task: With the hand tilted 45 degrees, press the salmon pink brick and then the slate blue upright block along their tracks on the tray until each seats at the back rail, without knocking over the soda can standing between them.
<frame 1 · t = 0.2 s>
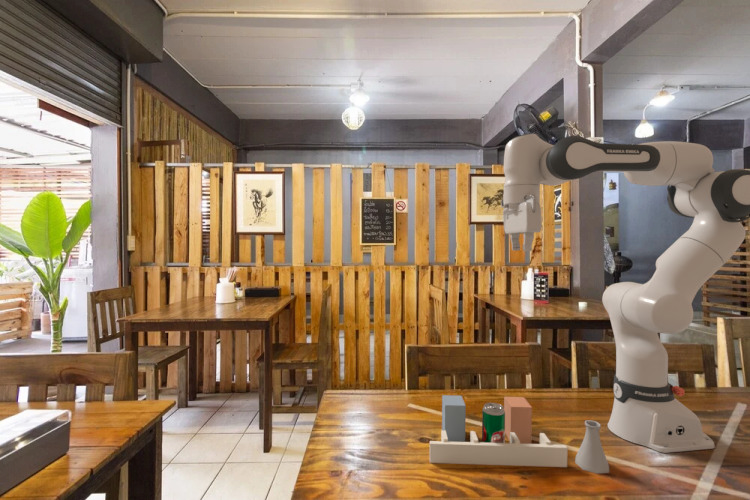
hand: (521, 251, 101), 48 cm above the table, tool pointing down, fingers open, 8 cm apart
slate blue upright block: (453, 416, 99), point 5 cm above the table, slide at 0.0 cm
flask: (591, 468, 86), on the table
tray: (489, 448, 94), on the table
salmon pink brick: (516, 418, 98), point 5 cm above the table, slide at 0.0 cm
soda can: (493, 457, 90), resting in tray
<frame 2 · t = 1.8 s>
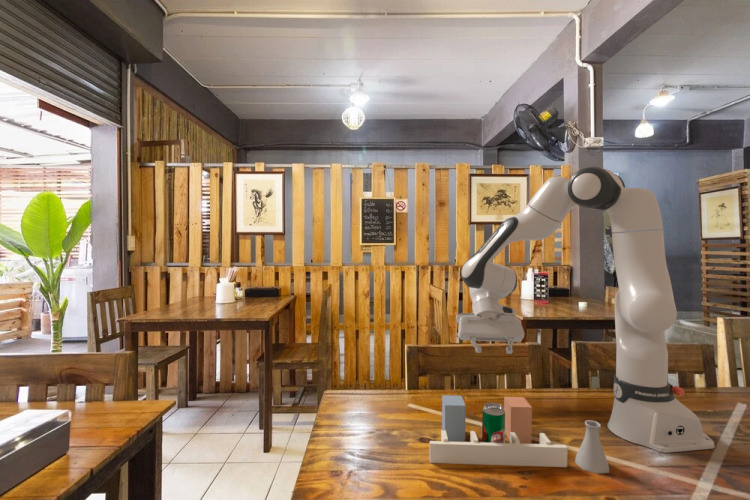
hand: (494, 352, 118), 16 cm above the table, tool tilted 45°, fingers open, 8 cm apart
nothing on the table moved.
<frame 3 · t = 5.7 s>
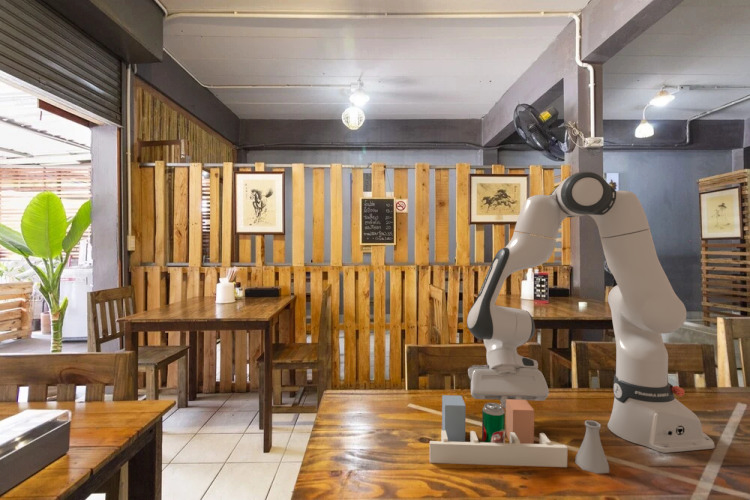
hand: (513, 415, 101), 5 cm above the table, tool tilted 45°, fingers closed, pressing on salmon pink brick
salmon pink brick: (518, 421, 97), point 5 cm above the table, slide at 1.6 cm, touching gripper
everything else where it was.
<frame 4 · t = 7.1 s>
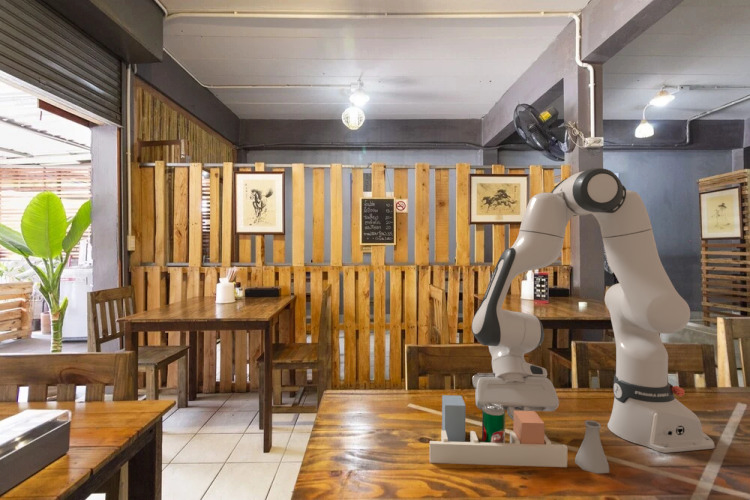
hand: (521, 427, 94), 5 cm above the table, tool tilted 45°, fingers closed, pressing on salmon pink brick
salmon pink brick: (527, 434, 90), point 5 cm above the table, slide at 8.1 cm, touching gripper
everything else where it was.
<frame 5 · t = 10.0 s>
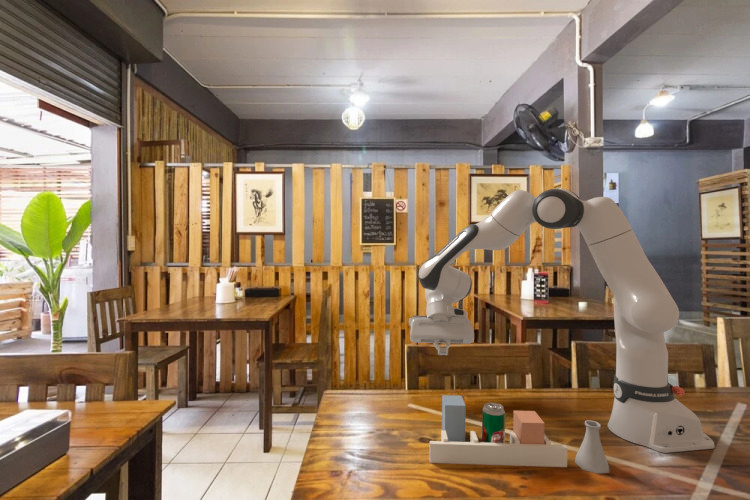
hand: (443, 354, 119), 15 cm above the table, tool tilted 45°, fingers closed
salmon pink brick: (527, 434, 90), point 5 cm above the table, slide at 8.0 cm
everything else where it was.
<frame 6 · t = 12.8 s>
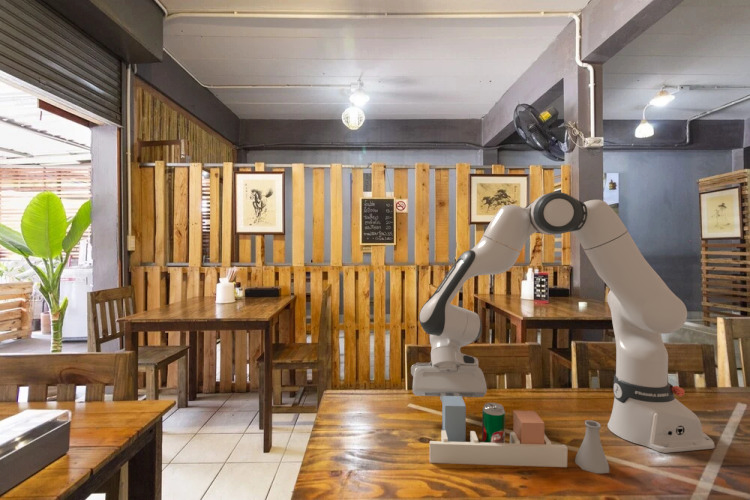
hand: (451, 411, 103), 5 cm above the table, tool tilted 45°, fingers closed, pressing on slate blue upright block
slate blue upright block: (453, 417, 99), point 5 cm above the table, slide at 0.3 cm, touching gripper
everything else where it was.
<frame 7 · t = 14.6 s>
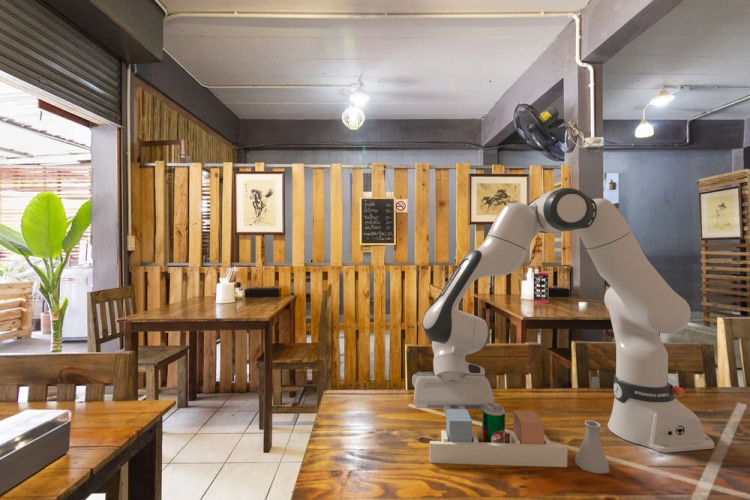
hand: (455, 425, 95), 5 cm above the table, tool tilted 45°, fingers closed, pressing on slate blue upright block
slate blue upright block: (458, 432, 91), point 5 cm above the table, slide at 8.1 cm, touching gripper
everything else where it was.
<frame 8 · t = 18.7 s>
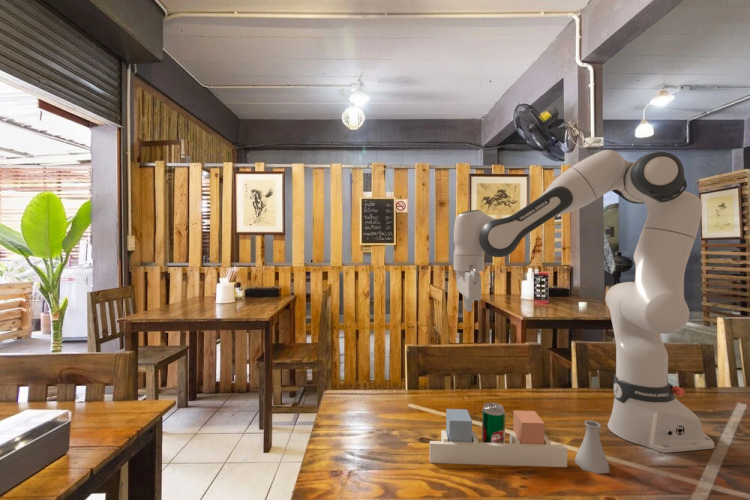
hand: (468, 310, 116), 29 cm above the table, tool pointing down, fingers closed
slate blue upright block: (458, 432, 91), point 5 cm above the table, slide at 8.0 cm
everything else where it was.
at the end: salmon pink brick slide at 8.0 cm; slate blue upright block slide at 8.0 cm; soda can tilted 0° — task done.
